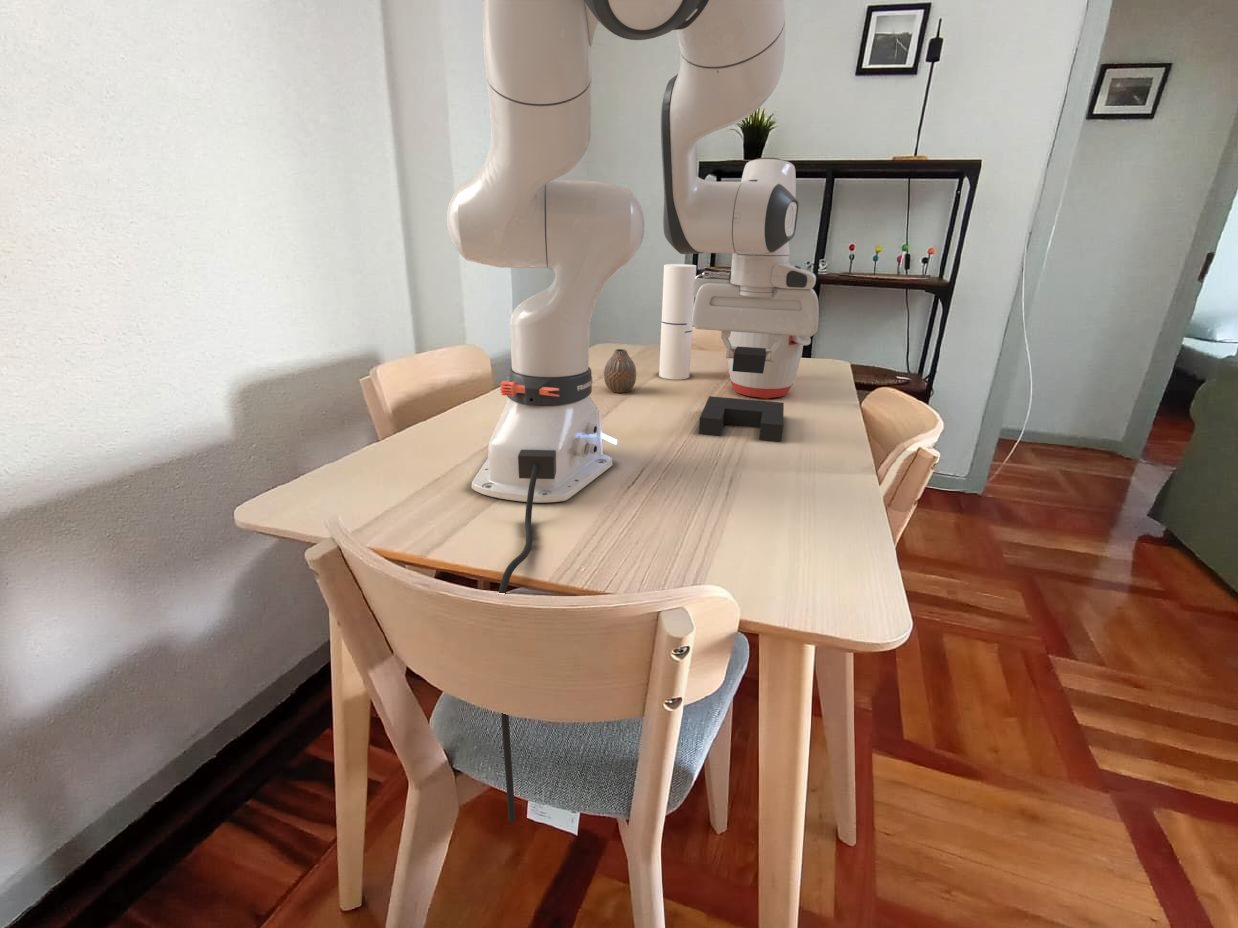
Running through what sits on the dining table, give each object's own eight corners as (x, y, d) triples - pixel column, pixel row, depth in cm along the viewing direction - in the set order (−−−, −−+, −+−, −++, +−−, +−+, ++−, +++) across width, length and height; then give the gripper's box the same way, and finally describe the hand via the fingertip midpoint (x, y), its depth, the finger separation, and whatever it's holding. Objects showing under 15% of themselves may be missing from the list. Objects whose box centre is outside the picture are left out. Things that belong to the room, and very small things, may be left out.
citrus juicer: (780, 408, 121) (793, 305, 113) (709, 391, 132) (716, 296, 124) (817, 394, 131) (831, 299, 124) (748, 379, 142) (757, 291, 135)
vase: (637, 387, 134) (638, 347, 131) (634, 395, 128) (635, 354, 124) (605, 385, 135) (606, 346, 131) (602, 394, 128) (602, 352, 125)
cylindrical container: (654, 373, 147) (659, 264, 137) (682, 371, 149) (688, 264, 139) (665, 380, 140) (671, 266, 131) (694, 378, 142) (701, 266, 133)
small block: (763, 373, 100) (765, 355, 98) (732, 371, 101) (733, 353, 100) (764, 365, 105) (766, 348, 104) (735, 363, 106) (736, 346, 105)
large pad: (781, 442, 103) (783, 425, 102) (698, 433, 106) (699, 417, 105) (781, 417, 115) (783, 402, 114) (707, 411, 119) (709, 396, 117)
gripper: (691, 272, 96) (685, 358, 102) (825, 278, 92) (812, 368, 97) (696, 269, 102) (691, 351, 107) (823, 274, 97) (811, 359, 103)
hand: (749, 359), depth 102 cm, fingers closed on small block, 5 cm apart
